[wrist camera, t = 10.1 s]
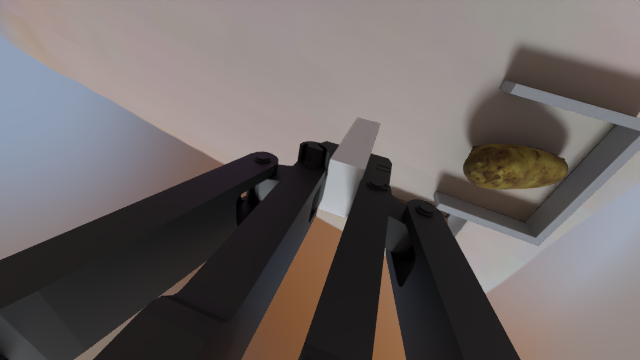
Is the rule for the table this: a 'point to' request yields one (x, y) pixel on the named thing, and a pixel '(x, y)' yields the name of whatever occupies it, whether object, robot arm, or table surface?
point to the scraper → (451, 222)
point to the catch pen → (574, 188)
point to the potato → (513, 167)
